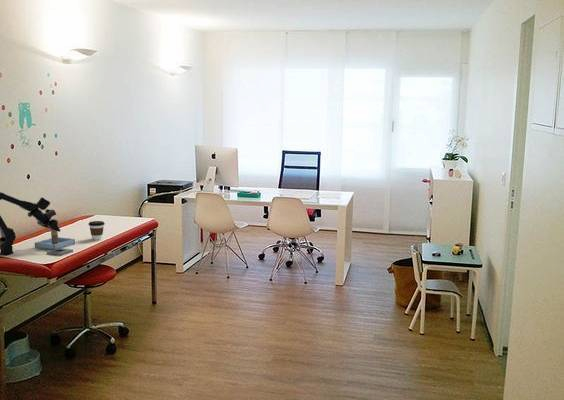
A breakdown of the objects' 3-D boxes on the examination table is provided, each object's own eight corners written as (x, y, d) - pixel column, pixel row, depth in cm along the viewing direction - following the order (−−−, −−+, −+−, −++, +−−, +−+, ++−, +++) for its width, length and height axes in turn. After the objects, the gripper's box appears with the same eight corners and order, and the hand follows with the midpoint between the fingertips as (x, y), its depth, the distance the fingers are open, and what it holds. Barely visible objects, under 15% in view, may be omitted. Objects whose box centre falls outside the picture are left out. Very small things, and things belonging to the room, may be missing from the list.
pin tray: (54, 250, 354) (54, 244, 353) (34, 247, 359) (34, 242, 358) (74, 244, 372) (74, 238, 372) (56, 241, 377) (56, 236, 377)
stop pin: (58, 245, 364) (57, 223, 361) (51, 245, 362) (49, 223, 359) (59, 243, 368) (57, 221, 365) (51, 244, 367) (50, 222, 364)
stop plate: (61, 255, 340) (61, 253, 340) (46, 254, 344) (46, 251, 344) (73, 251, 351) (73, 249, 350) (59, 250, 354) (59, 247, 354)
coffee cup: (100, 240, 383) (99, 224, 381) (85, 239, 385) (85, 223, 383) (107, 237, 393) (107, 221, 392) (94, 236, 395) (93, 220, 394)
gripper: (54, 207, 352) (71, 222, 362) (41, 204, 365) (57, 218, 374) (43, 221, 348) (60, 235, 357) (29, 217, 360) (47, 231, 370)
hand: (56, 230), depth 365 cm, fingers open, 9 cm apart
